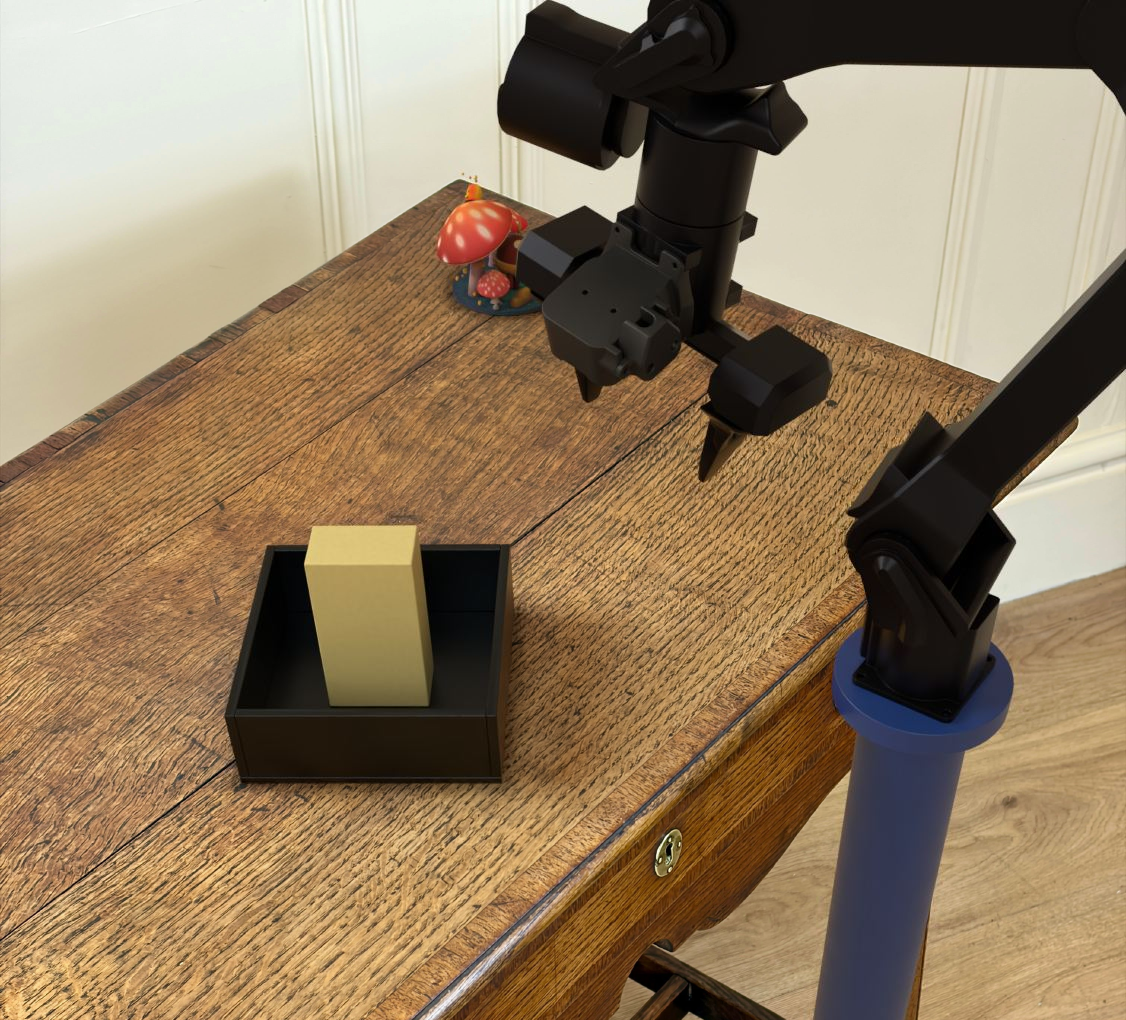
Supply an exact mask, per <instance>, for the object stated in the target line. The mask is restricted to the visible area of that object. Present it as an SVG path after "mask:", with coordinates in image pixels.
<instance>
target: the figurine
mask: <svg viewBox="0 0 1126 1020" xmlns="http://www.w3.org/2000/svg"><path fill="white" fill-rule="evenodd" d="M464 175H465V172H461V176H464ZM468 179H469V180H471V179H473V180H474V183H472V184H470V185H469V186H468V187H467V190H466V194H465V195H464V199H465V201H464V202H463V203H460V204H459V205H457V206H456V207H455V208H454V210H452V212H451V213H450V214H449V215H448V216H447V219H446V220H445V222H444V224H443V225H442V227H441V230H440V232H439V234H438V237H437V242H436V254H437V258H438V260H440V262H441V263H443V264H444V265H449V266H464V265H465V266H464V267H463V268H462V269H461V270H460V271H458V273H457V274H456V276H455V277H454V279H453V282H452V288H451V289H452V295H453V298H454V300H455V301H456V302H457V304H458V305H461V306H462V307H463V308H465V309H467V310H470V311H472V312H473V311H474V312H476V313H480V314H485V315H492V316H520V315H527V314H531V313H535V312H538V311H540V310H541V311H542V305H541V304H540V303H538V302H537V301H535V300H534V299H533V298H532V296H531V294H530V288H528V287H527V286H525V285H524V284H522V283H521V282H519V281H518V280H516V279H515V274H516V261H517V250H518V245H519V244H520V242H521V240H522V239H523V237H524V236H525V235H524V236H523V233H524V232H525V231H526V230H527V229H528V228H529V222H528V221H527V220H526V218H524V217H523V216H522V215H521V214H519V213H518V212H516V211H515V210H514V209H512V208H510V207H509V206H508V205H506V204H504V203H502V202H500V201H496V200H490V199H483V189H482V187H481V185H480V184H477V183H478V175H477V174H474V176H473V178H472V176H471V175H470V176H468Z"/></svg>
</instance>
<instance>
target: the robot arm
mask: <svg viewBox="0 0 1126 1020" xmlns="http://www.w3.org/2000/svg"><path fill="white" fill-rule="evenodd" d="M646 8H647V10H646V21H644V22H643V23H641V25H639V26H638V27H637V28H635V29H634V30H633V31H632V32H630V31H626V30H623V29H621V28H618V27H615V26H614V25H613V26H612V25H610V24H608V23H604V22H601V21H599V20H596V19H594V18H590V17H589V16H584V15H583V14H581V13H579V12H577V11H576V10H574V9H573V8H571V6H568V5H566V4H564V3H560V2H559V1H555V0H544V1H543V2H541V3H540V4H539V5H537V6H535V8H533V9H531V10H529V12H527V13H526V15H525V23H524V33H523V36H521V38H520V40H519V42H518V44H517V45H516V47H515V49H514V51H513V53H512V54H511V55H512V56H511V58H510V60H509V63H508V65H507V68H506V72H505V75H504V79H503V82H502V83H501V84H500V85H499V86H498V90H497V97H496V115H497V116H496V117H497V121H498V125H499V127H500V128H501V131H502V132H503V133H504V134H506V135H507V136H510V137H513V138H515V139H518V140H520V141H522V142H523V141H524V142H525V143H528V144H530V145H533V146H535V147H539V148H541V149H543V150H546V151H549V152H551V153H553V154H556V155H559V156H561V157H564V158H566V159H569V160H572V161H574V162H576V163H579V164H583V165H584V166H587V167H590V168H592V169H594V170H598V171H602V172H604V171H606V170H609V169H610V168H611V167H613V166H614V165H615V164H616V163H617V161H618V160H619V159H620V157H621V158H624V159H631V158H632V157H633V156H634V155H636V153H637V152H638V151H639V149H640V148H641V146H642V150H641V157H640V164H639V170H638V177H637V183H636V188H635V189H636V190H635V196H634V202H633V203H634V204H632V205H630V206H628V207H626V208H623V209H621V210H619V211H617V213H616V217H615V218H616V219H615V221H614V222H613V221H612V220H610V219H608V218H606V217H605V216H604V215H602V214H600V213H598V212H597V211H595V209H592V208H590V207H589V206H587V205H586V204H584V205H582V206H580V207H577V208H575V209H573V210H572V211H569V212H567V213H565V214H563V215H560V216H558V217H557V218H554V219H552V220H550V221H548V222H546V223H544V224H541V225H540V226H537V227H535V228H533V229H531V230H529V231H527V232H526V233H525V234H524V237H523V239H522V240H521V242H520V244H519V245H518V250H517V261H516V274H515V279H516V280H518V281H519V282H521V283H522V284H524V285H525V286H527V287H528V288H530V294H531V296H532V298H533V299H534V300H535V301H537V302H538V303H540V304H541V305H542V309H541V312H542V316H543V321H544V322H543V323H544V326H545V330H546V331H545V332H546V335H547V339H548V340H547V341H548V345H549V349H550V352H551V354H552V355H553V356H554V357H555V358H556V359H558V360H559V361H562V362H563V361H564V362H566V363H567V364H568V365H570V366H572V367H573V368H574V372H575V376H576V380H577V384H578V388H579V392H580V397H581V399H582V401H583V402H585V403H586V404H591V403H592V402H594V401H596V400H597V399H599V397H600V396H601V393H602V390H603V388H604V387H612V386H615V385H617V384H620V382H621V381H622V380H625V379H627V378H628V377H630V376H634V377H637V378H638V379H640V380H642V381H643V382H651V381H653V380H654V379H655V378H656V377H657V376H658V375H659V374H660V373H662V371H664V370H665V368H667V367H668V366H669V365H670V364H671V363H672V362H673V361H674V360H675V359H676V358H677V357H678V355H679V353H680V352H681V349H682V343H683V344H684V345H686V346H687V347H689V348H690V349H692V350H693V351H695V352H697V354H700V355H701V356H703V357H704V358H705V359H707V360H709V361H710V362H712V363H714V364H715V365H717V366H715V368H714V369H713V371H712V373H711V374H710V375H709V380H708V385H707V389H706V393H707V395H708V398H709V400H708V401H706V402H705V403H703V404H702V405H700V406H699V410H700V411H701V412H702V413H703V414H705V416H707V417H708V418H709V419H708V420H709V421H708V424H707V429H706V433H705V436H704V441H703V444H702V449H701V452H700V457H699V462H698V473H697V479H698V481H700V482H701V483H703V484H704V483H706V482H708V481H709V480H711V479H712V478H714V477H715V476H716V474H717V473H719V471H720V470H721V468H722V467H723V466H724V465H725V464H726V462H727V461H728V460H729V459H730V458H731V456H732V455H733V454H734V453H735V452H736V450H737V449H738V448H739V446H741V444H742V443H743V442H744V441H745V440H746V438H747V437H748V436H749V435H750V436H753V437H769V436H771V435H772V434H774V433H775V432H777V431H779V430H780V429H781V428H783V427H785V426H786V425H788V424H789V423H791V422H793V421H794V420H796V419H797V418H798V417H801V416H802V415H804V414H805V413H807V412H809V411H810V410H811V409H813V408H814V407H816V406H818V405H819V404H821V403H822V402H823V401H825V400H827V396H828V393H829V389H830V386H831V383H832V380H833V376H834V371H833V361H832V360H831V359H830V358H829V356H828V355H827V354H826V353H824V352H823V351H821V350H820V349H818V348H816V347H815V346H813V345H812V344H810V343H808V342H807V341H805V340H804V339H802V338H800V337H799V336H797V335H796V334H794V333H792V332H790V331H789V330H787V329H786V328H784V327H782V326H781V325H780V324H777V323H776V324H775V325H773V326H771V327H769V328H768V329H766V330H764V331H762V332H761V333H759V334H758V335H755V336H754V337H753V336H750V335H749V334H747V333H746V332H744V331H743V330H740V329H739V328H738V327H736V326H734V325H733V324H731V322H730V323H729V322H728V321H727V320H725V319H724V318H723V317H724V313H725V311H726V310H728V309H730V308H731V307H733V306H735V305H737V304H739V303H740V302H741V298H742V294H743V289H744V285H742V284H740V283H739V282H737V281H735V280H734V279H732V276H733V272H734V267H735V262H736V257H737V253H738V249H739V248H738V247H739V244H741V243H742V242H744V241H747V240H748V239H750V238H752V237H754V236H755V235H756V230H757V226H758V221H759V218H758V217H757V216H756V215H754V214H752V213H750V212H749V211H747V206H748V201H749V198H750V197H749V196H750V191H751V187H752V183H753V178H754V171H755V169H756V164H757V159H758V154H759V152H762V153H765V154H767V155H770V156H773V157H776V156H779V155H781V154H782V153H783V152H784V151H785V149H787V147H789V145H790V144H791V143H792V142H794V140H795V139H797V138H798V137H799V136H800V135H801V133H803V131H804V130H805V129H806V128H807V127H808V125H809V119H808V116H807V115H806V114H805V112H804V111H803V109H802V108H801V107H800V105H799V104H798V103H797V102H796V101H795V100H794V99H793V98H792V97H791V96H790V93H789V92H788V90H787V89H788V88H787V86H786V83H785V81H788V80H791V79H793V78H796V77H797V78H798V77H801V76H802V75H805V74H809V73H811V72H815V71H818V70H822V69H827V68H832V67H839V66H844V65H845V66H846V65H848V66H849V65H851V66H894V67H895V66H902V67H904V66H905V67H947V68H949V67H953V68H993V69H994V68H996V69H997V68H998V69H1000V68H1001V69H1003V68H1004V69H1043V70H1044V69H1045V70H1046V69H1049V70H1051V69H1052V70H1091V71H1092V72H1093V74H1094V75H1096V77H1097V78H1098V79H1099V80H1100V81H1101V82H1102V83H1103V84H1104V86H1105V87H1106V88H1108V90H1109V91H1110V92H1111V93H1112V94H1113V96H1114V97H1115V100H1116V101H1117V103H1118V104H1119V107H1120V109H1121V110H1122V112H1123V114H1124V115H1125V117H1126V0H649V2H648V5H647V7H646ZM763 87H764V88H763ZM1125 371H1126V247H1125V248H1124V249H1123V250H1122V251H1121V252H1120V253H1119V255H1118V256H1117V257H1116V258H1115V259H1114V260H1112V261H1111V263H1110V264H1109V265H1108V266H1107V268H1105V270H1104V271H1103V272H1102V273H1100V275H1099V276H1098V277H1097V278H1096V279H1095V280H1094V281H1093V282H1092V284H1090V285H1089V286H1088V288H1087V289H1086V290H1085V291H1083V293H1082V294H1081V295H1080V296H1079V297H1078V298H1077V299H1076V300H1075V301H1074V303H1073V304H1072V305H1071V306H1070V307H1069V308H1068V309H1067V310H1066V311H1065V312H1064V313H1063V314H1062V315H1061V316H1060V317H1059V319H1057V320H1056V322H1055V323H1054V324H1053V325H1052V326H1051V327H1050V328H1049V329H1048V330H1047V332H1045V333H1044V334H1043V335H1042V337H1041V338H1040V339H1039V340H1038V341H1036V343H1035V344H1034V345H1033V346H1032V347H1031V348H1030V350H1029V351H1028V352H1027V353H1025V354H1024V356H1023V357H1021V359H1020V360H1019V361H1018V362H1017V363H1016V364H1015V366H1013V367H1012V369H1011V370H1009V372H1008V373H1006V375H1005V376H1004V377H1003V378H1002V379H1001V380H1000V381H999V382H998V383H997V385H996V386H994V388H993V389H992V390H991V391H990V392H989V393H987V395H986V396H985V397H984V398H983V400H982V401H981V402H980V403H979V404H977V406H976V407H975V408H974V409H973V410H972V411H971V412H970V413H969V414H968V415H967V416H966V417H963V418H962V419H961V420H958V421H955V422H953V423H951V424H948V425H947V426H943V425H942V424H941V423H940V422H939V421H938V420H937V419H936V418H935V417H934V415H933V414H932V413H931V412H930V411H929V410H926V411H924V413H923V415H922V416H921V418H920V419H919V421H918V422H917V424H915V426H914V428H913V429H912V431H911V432H910V433H909V435H908V437H907V438H906V439H905V441H904V442H902V443H901V444H898V445H895V446H894V447H891V448H889V449H888V451H887V453H885V455H884V457H883V458H882V460H881V461H880V463H879V464H878V465H877V467H876V469H875V470H874V472H873V473H872V475H870V477H869V479H868V480H867V482H866V483H865V484H864V486H863V488H862V489H861V491H860V492H859V493H858V495H857V496H856V497H855V499H854V500H853V502H852V504H851V505H850V506H849V508H848V510H847V511H846V515H847V516H848V517H850V518H854V521H853V522H852V524H850V527H849V529H848V530H847V532H846V534H845V538H844V543H843V545H844V547H845V549H846V550H847V555H848V559H849V561H850V563H851V565H852V566H853V567H854V568H853V569H854V570H855V572H856V573H857V574H858V575H859V576H860V579H861V583H862V587H863V590H864V595H865V598H866V601H867V603H866V605H865V611H864V616H863V617H864V618H863V624H862V627H863V631H862V637H861V644H860V651H859V652H860V655H861V657H864V658H866V659H865V660H864V661H863V662H862V664H861V665H860V666H859V667H858V668H857V669H856V671H855V672H854V673H853V676H852V683H853V684H854V685H856V686H858V687H860V688H862V689H865V690H867V691H869V692H872V693H874V694H876V695H879V696H881V697H883V698H886V699H888V700H890V701H893V702H895V703H897V704H899V705H902V706H904V707H906V708H909V709H911V710H913V711H916V712H918V713H920V714H923V715H925V716H927V717H930V718H932V719H934V720H937V721H939V722H941V723H951V722H952V721H954V719H955V718H956V717H957V715H958V714H959V713H960V711H961V710H962V709H963V707H964V706H965V705H966V703H967V702H968V701H969V699H970V698H971V697H972V695H973V694H974V693H975V692H976V690H977V689H978V688H979V686H980V685H981V684H982V682H983V681H984V680H985V678H986V677H987V676H988V674H989V673H990V672H991V670H992V669H993V668H994V666H995V662H996V658H995V657H994V656H993V655H991V654H989V653H988V652H989V647H990V643H991V642H992V638H993V634H994V629H995V625H996V622H997V621H996V620H997V617H998V612H999V607H1000V602H1001V598H1000V597H999V596H997V595H994V594H991V593H990V592H991V590H992V588H993V587H994V585H995V583H996V581H997V580H998V578H999V576H1000V574H1001V572H1002V570H1003V569H1004V567H1005V565H1006V563H1007V561H1008V560H1009V558H1010V556H1011V554H1012V552H1013V551H1014V549H1015V547H1016V545H1017V539H1016V538H1015V536H1014V535H1013V534H1012V532H1011V531H1010V530H1009V528H1008V527H1007V526H1006V525H1005V523H1004V522H1003V521H1002V519H1001V518H1000V516H999V515H998V514H997V513H996V512H995V510H994V509H993V507H992V505H993V504H994V503H995V500H996V499H997V498H998V497H999V495H1000V493H1001V492H1002V491H1003V490H1004V489H1005V488H1006V487H1007V486H1008V485H1009V484H1010V483H1011V482H1012V481H1013V480H1014V479H1015V478H1016V477H1017V476H1018V475H1019V474H1020V473H1021V472H1022V471H1023V470H1025V468H1026V467H1027V466H1028V465H1029V464H1030V463H1031V462H1032V461H1033V460H1034V459H1035V458H1036V457H1038V455H1040V454H1041V452H1043V451H1044V450H1045V449H1046V448H1047V447H1048V445H1050V444H1051V443H1052V442H1053V441H1054V440H1055V439H1056V438H1057V437H1058V436H1059V435H1060V434H1061V433H1062V432H1063V431H1064V430H1065V429H1066V428H1067V427H1068V426H1069V425H1071V423H1072V422H1073V421H1075V420H1076V418H1078V416H1080V415H1081V414H1082V413H1083V412H1084V411H1085V410H1086V408H1088V407H1089V406H1090V405H1091V404H1092V403H1093V402H1094V401H1095V400H1096V399H1097V398H1098V397H1099V396H1100V395H1101V394H1103V392H1104V391H1105V390H1106V389H1107V388H1108V387H1109V386H1110V385H1112V383H1113V382H1114V381H1116V379H1118V378H1119V377H1120V376H1121V375H1122V374H1123V372H1125ZM986 661H988V662H986ZM859 678H862V679H859ZM944 714H946V715H948V716H946V715H944Z"/></svg>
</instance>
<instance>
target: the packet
mask: <svg viewBox="0 0 1126 1020" xmlns="http://www.w3.org/2000/svg"><path fill="white" fill-rule="evenodd" d="M420 544H421V543H420V536H419V527H418V525H416V524H415V525H412V524H411V525H312V528H311V533H310V537H309V541H308V544H307V545H308V550H307V554H306V559H305V563H304V566H305V571H306V577H307V582H308V588H309V593H310V598H311V604H312V609H313V615H314V620H315V626H316V631H317V636H318V642H319V647H320V653H321V658H322V664H323V669H324V674H325V680H326V685H327V691H328V696H329V702H330V706H429V703H430V695H431V687H432V679H433V671H434V664H433V655H432V647H431V638H430V629H429V621H428V612H427V603H426V595H425V586H424V578H423V569H422V560H421V552H420Z"/></svg>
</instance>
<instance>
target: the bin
mask: <svg viewBox="0 0 1126 1020" xmlns="http://www.w3.org/2000/svg"><path fill="white" fill-rule="evenodd" d="M308 545H309V544H267V545H266V546H265V551H264V555H263V559H262V562H261V563H262V564H261V567H260V571H259V575H258V579H257V583H256V587H255V591H254V595H253V599H252V603H251V607H250V611H249V615H248V618H247V623H246V627H245V631H244V635H243V638H242V643H241V646H240V651H239V655H238V659H237V662H236V667H235V671H234V675H233V679H232V682H231V687H230V691H229V695H228V698H227V702H226V707H225V710H224V714H223V717H224V721H225V725H226V729H227V733H228V736H229V741H230V745H231V750H232V754H233V757H234V761H235V765H236V769H237V773H238V776H239V780H240V783H241V784H502V783H503V777H504V763H505V761H504V760H505V749H506V748H505V747H506V736H507V735H506V733H507V721H508V709H509V708H508V707H509V694H510V693H509V691H510V681H511V680H510V679H511V666H512V665H511V664H512V652H513V651H512V650H513V639H514V625H515V623H514V622H515V612H516V611H515V597H514V580H513V567H512V549H511V544H510V543H438V544H437V543H420V552H421V560H422V569H423V578H424V586H425V595H426V603H427V612H428V621H429V629H430V638H431V647H432V655H433V664H434V671H433V679H432V687H431V695H430V703H429V706H330V702H329V696H328V691H327V685H326V680H325V674H324V669H323V664H322V658H321V653H320V647H319V642H318V636H317V631H316V626H315V620H314V615H313V609H312V604H311V598H310V593H309V588H308V582H307V577H306V571H305V566H304V563H305V559H306V554H307V550H308Z"/></svg>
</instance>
